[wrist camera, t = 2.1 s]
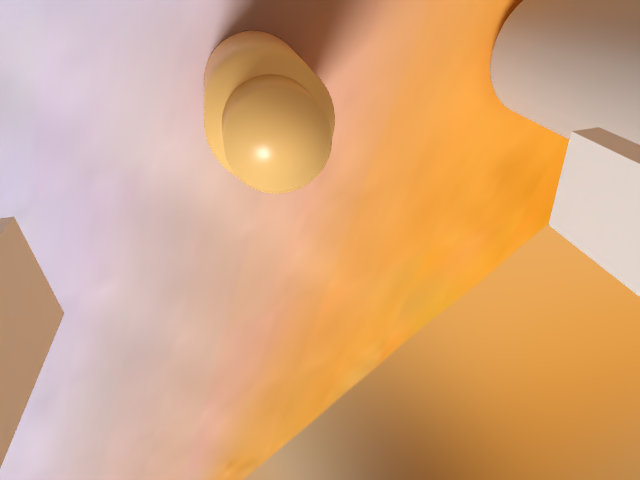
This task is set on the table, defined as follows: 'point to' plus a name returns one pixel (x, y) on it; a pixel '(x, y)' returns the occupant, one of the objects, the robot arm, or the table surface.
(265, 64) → the nesting doll
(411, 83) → the table surface
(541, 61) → the beverage can
